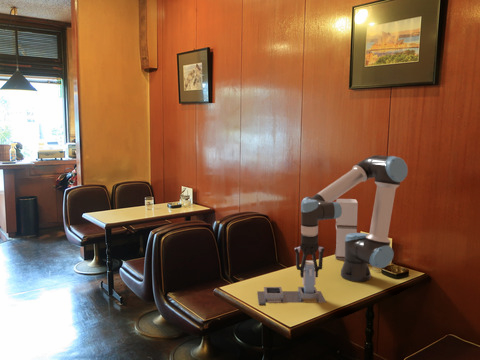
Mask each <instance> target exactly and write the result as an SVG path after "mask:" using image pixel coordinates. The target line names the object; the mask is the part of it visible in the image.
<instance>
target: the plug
mask: <svg viewBox="0 0 480 360" xmlns="http://www.w3.org/2000/svg"><path fill="white" fill-rule="evenodd" d="M314 269H315V268H314V262H313V260H306V262H305V266H304V270H305V285H303V287H304V293H314V287H315V285H314Z"/></svg>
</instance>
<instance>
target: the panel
mask: <svg viewBox="0 0 480 360" xmlns="http://www.w3.org/2000/svg"><path fill="white" fill-rule="evenodd" d="M257 301H258V302H257V303H258V305H260V306H263V305H264V306H265V305H267V303H268V304H271V303H272V304H275V303H277V304H278V303H283V304H284V303H286V304H288V303H292V304H293V303H303V304H304V303H327V301H326V299H325V297H324V295H323V293H322V290H321V291H320V290H318V289H317V287H316V286H314V293H304V286H297V290H290V291H287V290H283V289H282V286H264V287H263V290H262V291H260V290H259V291H257Z"/></svg>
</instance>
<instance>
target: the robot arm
mask: <svg viewBox="0 0 480 360" xmlns="http://www.w3.org/2000/svg"><path fill="white" fill-rule="evenodd" d="M408 170H409V169H408V164H407V163H406V162H405V160H404V159H403V158H401V157H399V156H395V155H381V154H380V155H379V154H377V155H376V154H375V155H371V156H368V157H366V158H364V159H362V160H361V161H359V162H358V163H356V164H354V165H353V166H352V169H351V170H349V171H347V172H346V173H345V174H343V175H342V176H340V177H339V178H338V179H336V180H335V181H333V182H332V183H330V184H328V185H327V186H326V187H325V188H323V189H322V190H320V191H318V192H317V193H316V194H315V195H313V196H305V197H304V198H303V199H302V200H301V203H300V218H301V219H300V221H301V222H300V223H301V224H300V225H301V226H300V233H301V234H300V245H299V246H298V247H294V248H293V249H294V251H295V267H296V269H297V271H299V272H300V274H299V276H300V278H302V285H303V286H304V285H305V270H304V266H305V262H306V261H307V257H308V255H311V258H312V261H313V262H314V286H316V282H317V281H316V279H317V278H318V277H319V271H320V270H322V269H323V263H324V262H323V261H324V260H323V258H324V257H323V256H324V252H325V248H324V247H323V246H319V221H326V220H327V221H328V220H336V218H339V217H340V216H341V214H342V207H341V205H340V204H339V203H338V202H336V201H335V200H337V199H339V198H340V197H341V196H342V195H344V194H345V193H347V192H348V191H349V190H351V189H353V188H354V187H355V186H357V185H359V184H360V183H362V182H363V183H364V182H366V181H368V180H370V179H374V184H375V185H376V191H375V197H374V204H373V209H372V214H371V215H372V216H371V222H370V228H369V233H364V232H357V233H350V234H347V235H346V239H345V260H343V264H342V267H341V268H340V269H341V270H340V276H341V277H342V278H343V279H344V280H347V281H352V282H366V281H370V280H371V278H372V277H371V276H372V274H371V270H370V266H371V267H373V268H378V269H383V268H386V267H387V266H389V265H390V263H392V261H393V260H394V255H395V254H394V253H395V252H394V250H393V248H392V247H391V240H390V239H389V230H390V225H391V220H392V219H391V218H392V214H393V208H394V207H393V206H394V200H395V195H396V190H397V188H399V187H400V185H401V182H403V181H404V180H405V179H406V178H407V176H408V173H409V171H408ZM301 251H302V258H301V263H300V253H301ZM317 251H318V261H317V257H316V253H317ZM369 265H370V266H369Z"/></svg>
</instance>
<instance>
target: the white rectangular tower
mask: <svg viewBox="0 0 480 360" xmlns="http://www.w3.org/2000/svg"><path fill="white" fill-rule="evenodd" d="M335 202H338V203H339V204H340V205H341V207H342V214H341V216H340V217H339V218H335V230H336V239H335V241H336V244H335V245H336V246H335V247H336V248H335V251H334V257H335V260H336V259H339V261H345V239H346V235H347V234H350V233H358V208H359V207H358V204H359V202H358V201H357V199H356V198H355V199H353V198H337V199H336V201H335Z"/></svg>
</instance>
